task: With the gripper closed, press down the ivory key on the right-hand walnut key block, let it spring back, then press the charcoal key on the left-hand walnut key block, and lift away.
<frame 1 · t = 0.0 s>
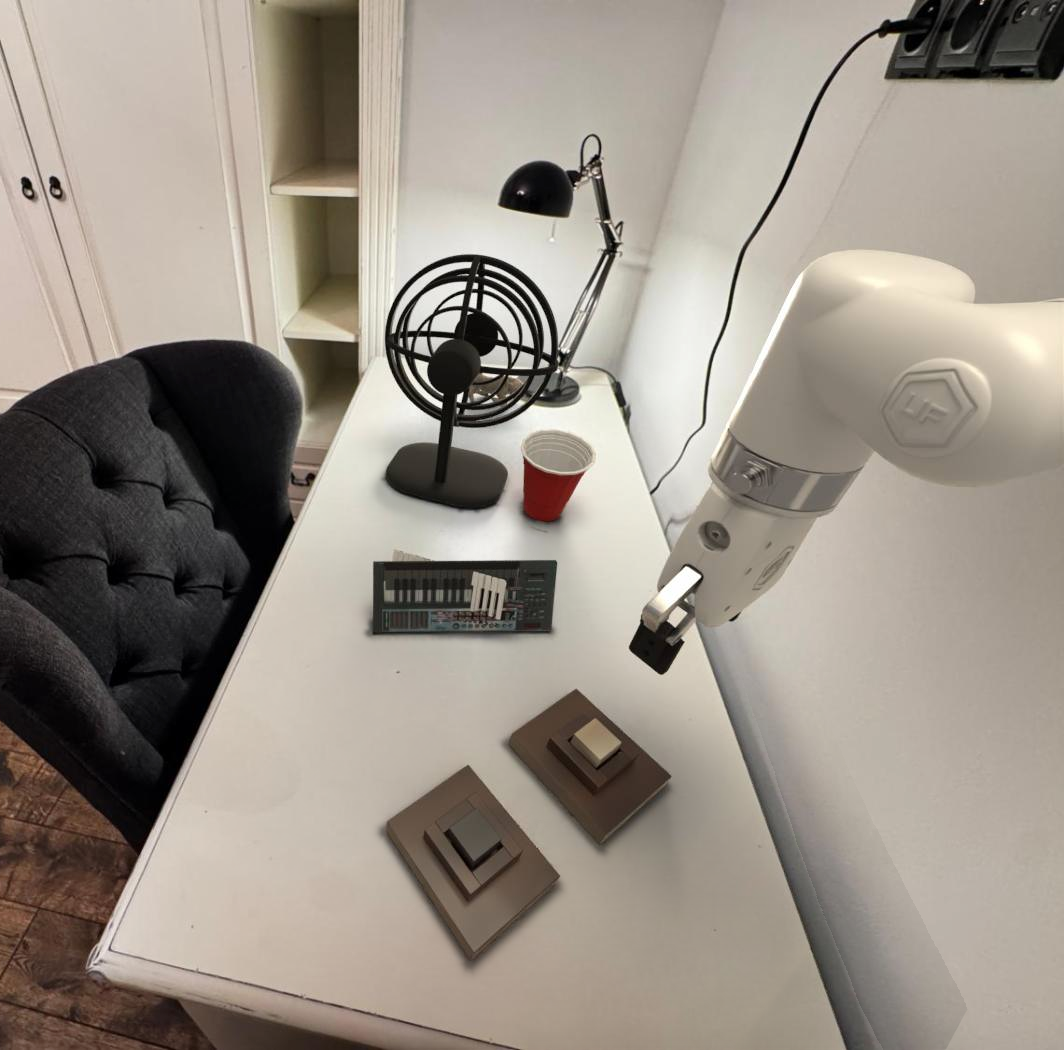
hand: (682, 634, 48), 19 cm above the table, tool pointing down, fingers open, 9 cm apart
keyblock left: (467, 857, 52), on the table
synthesizer keyboard: (459, 621, 74), on the table
plastic cup: (541, 512, 91), on the table
key ebony: (474, 837, 49), point 4 cm above the table, slide at 0.1 cm
desk fan: (448, 475, 99), on the table
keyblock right: (584, 764, 59), on the table
key ivory: (595, 742, 56), point 4 cm above the table, slide at 0.1 cm
dog figurine: (494, 403, 119), on the table
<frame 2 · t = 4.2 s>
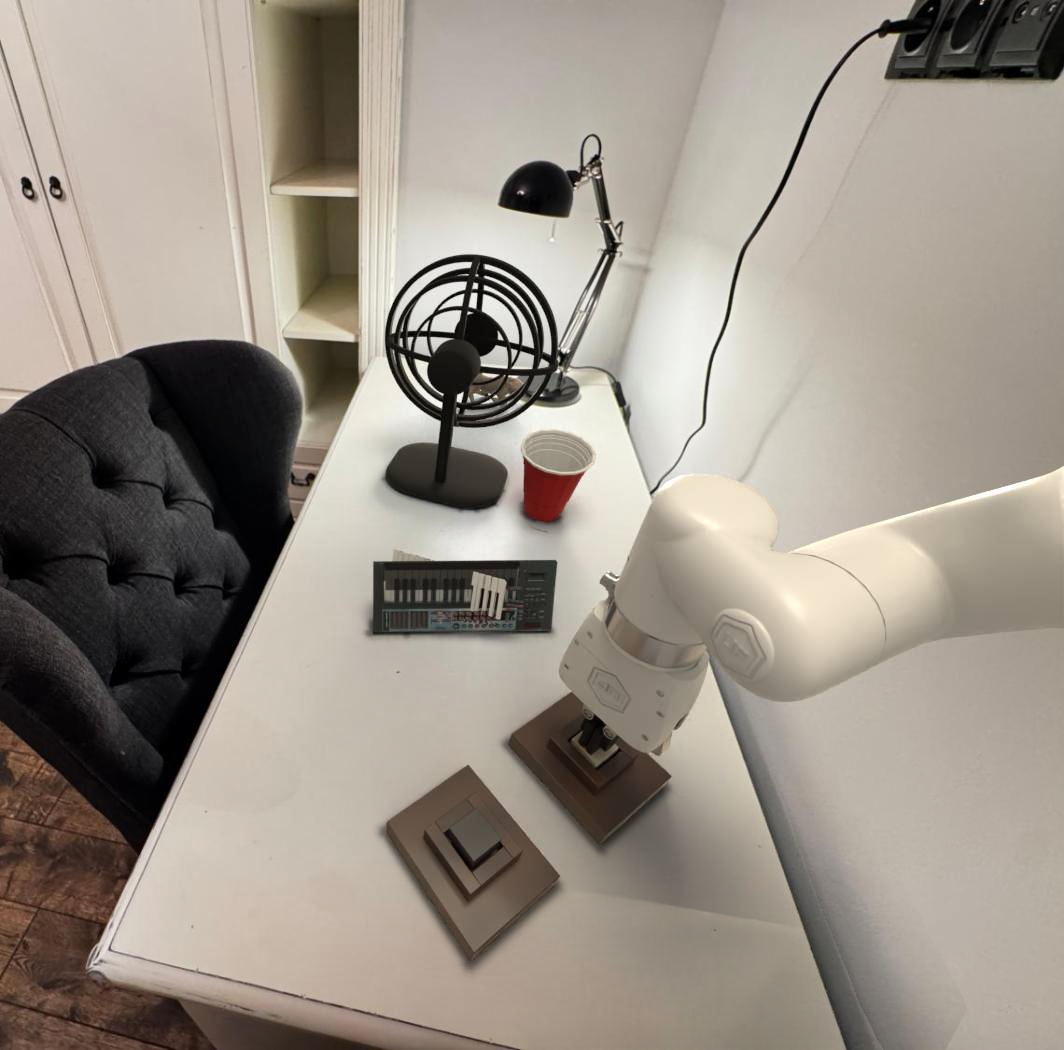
hand: (594, 741, 56), 4 cm above the table, tool pointing down, fingers closed
key ivory: (592, 747, 57), point 4 cm above the table, slide at -0.9 cm, touching gripper
everything else where it was.
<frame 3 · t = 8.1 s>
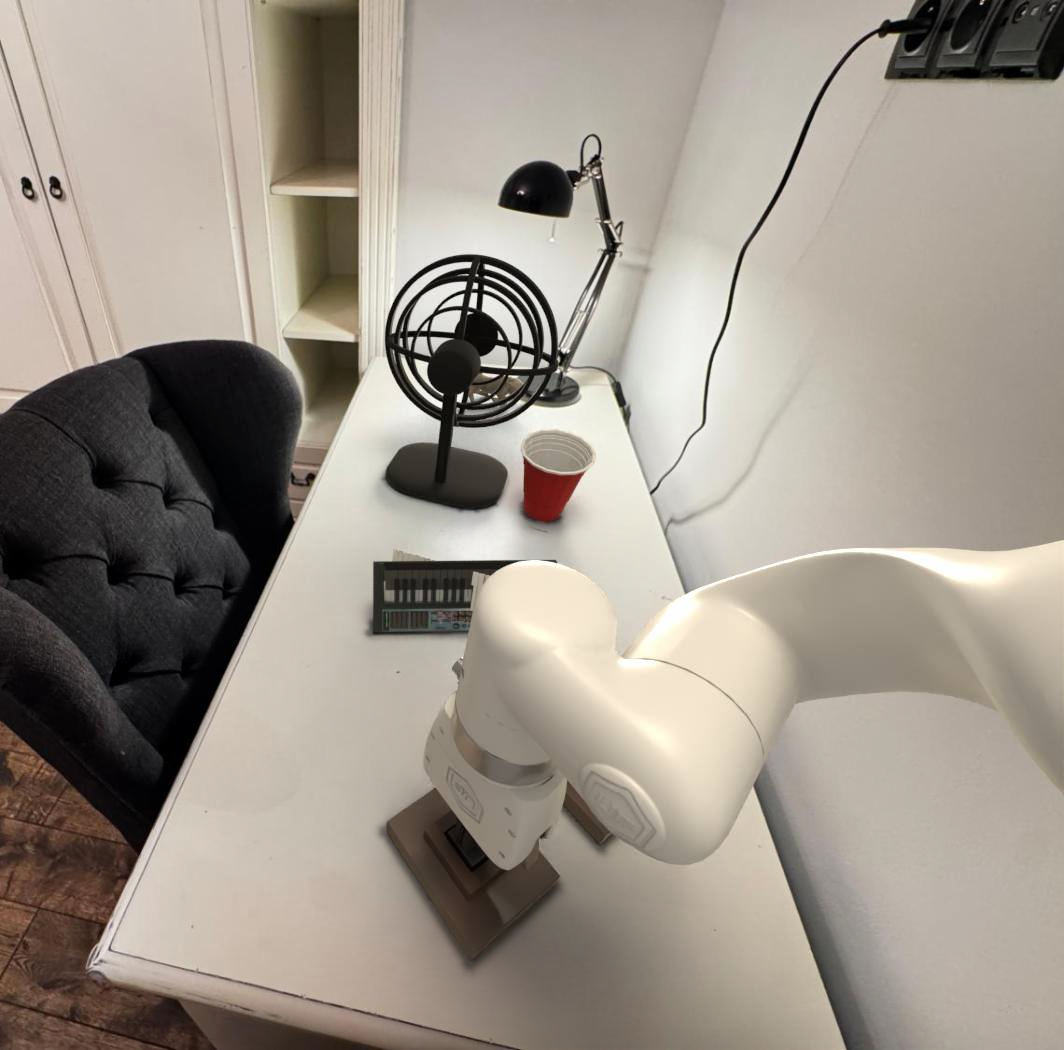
hand: (472, 835, 49), 5 cm above the table, tool pointing down, fingers closed
key ebony: (472, 841, 50), point 4 cm above the table, slide at -0.8 cm, touching gripper
key ivory: (595, 742, 56), point 4 cm above the table, slide at 0.1 cm
everything else where it was.
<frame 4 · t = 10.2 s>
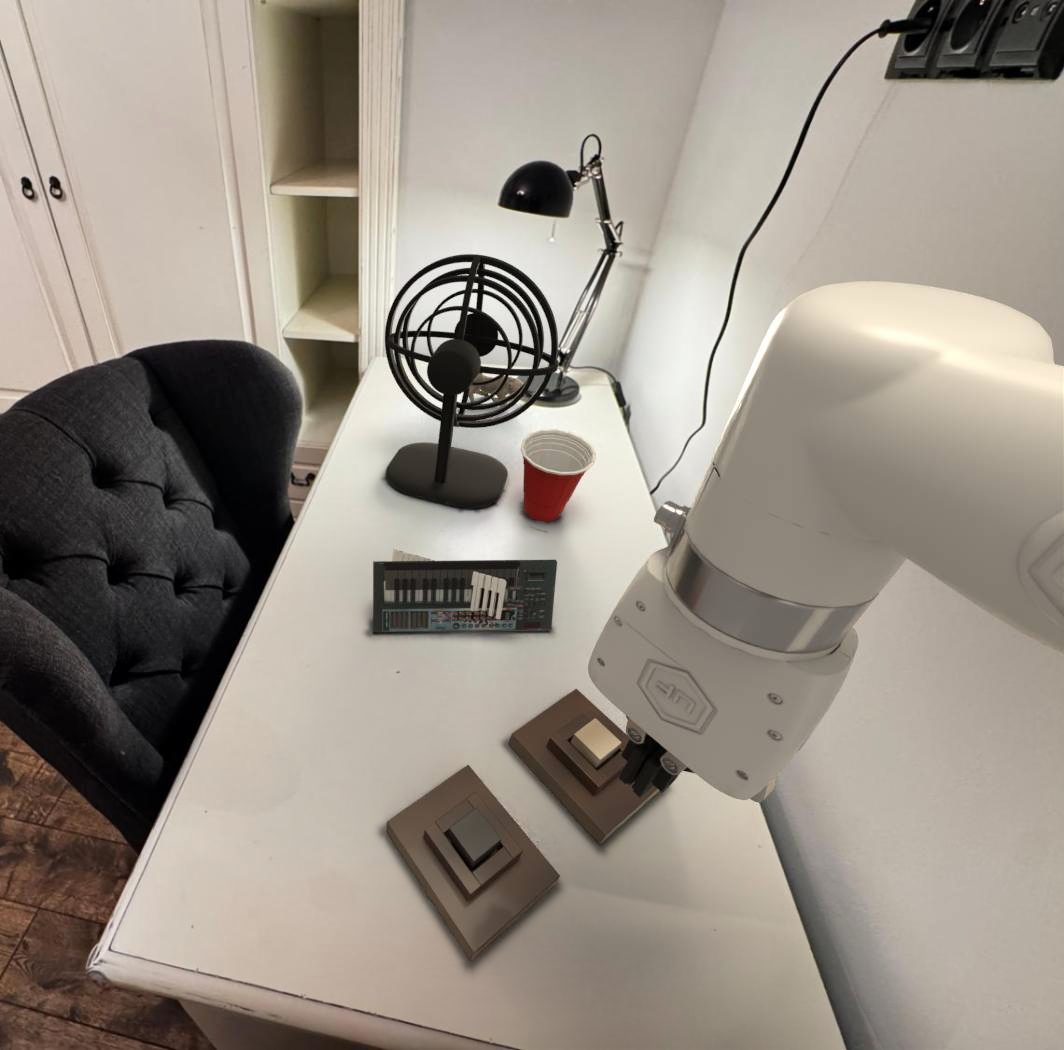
hand: (643, 775, 38), 20 cm above the table, tool pointing down, fingers closed
key ebony: (474, 837, 49), point 4 cm above the table, slide at 0.1 cm
everything else where it was.
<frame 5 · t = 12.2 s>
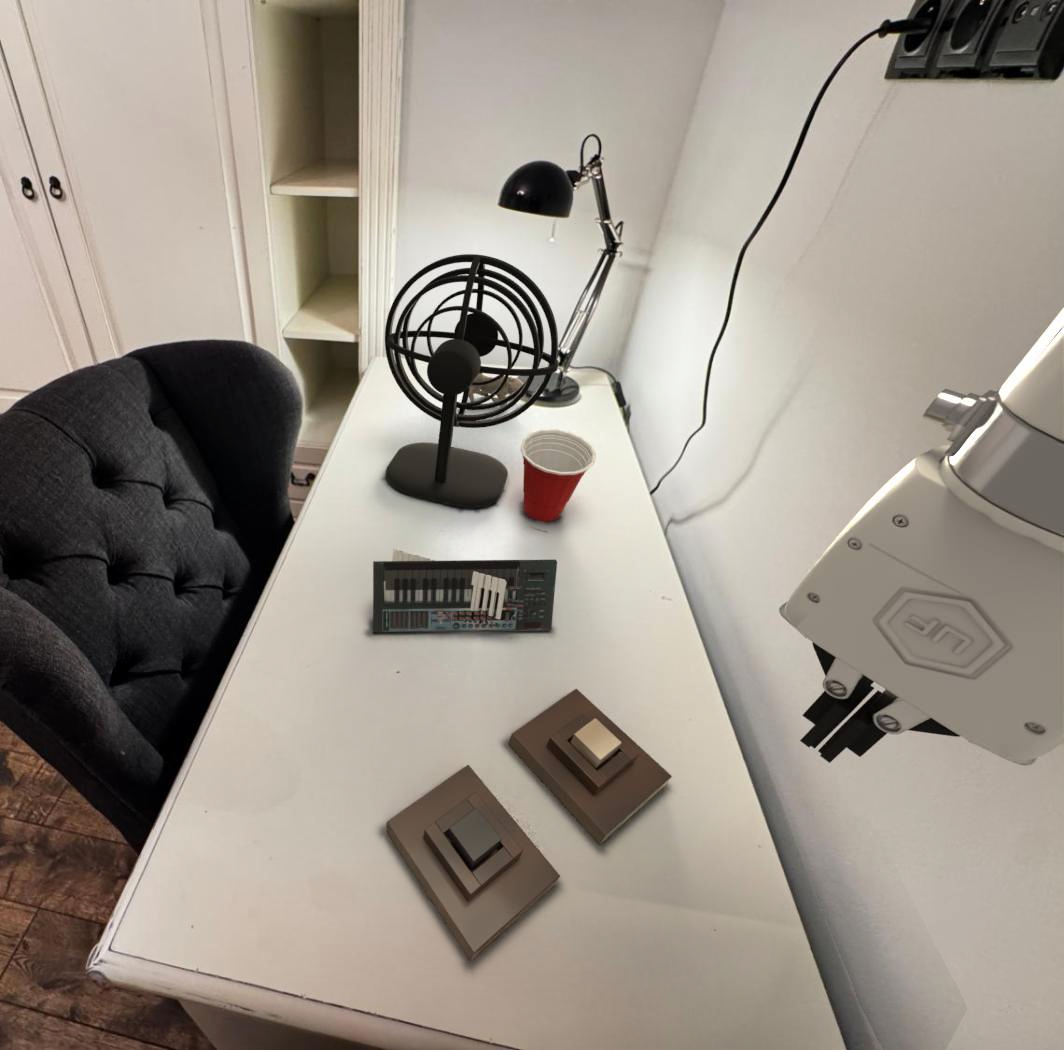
hand: (826, 738, 32), 27 cm above the table, tool pointing down, fingers closed
nothing on the table moved.
at the end: key ivory pushed in 1.1 cm at the most during the clip, back to where it started at the end; key ebony pushed in 1.1 cm at the most during the clip, back to where it started at the end; key ebony slide at 0.1 cm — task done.
